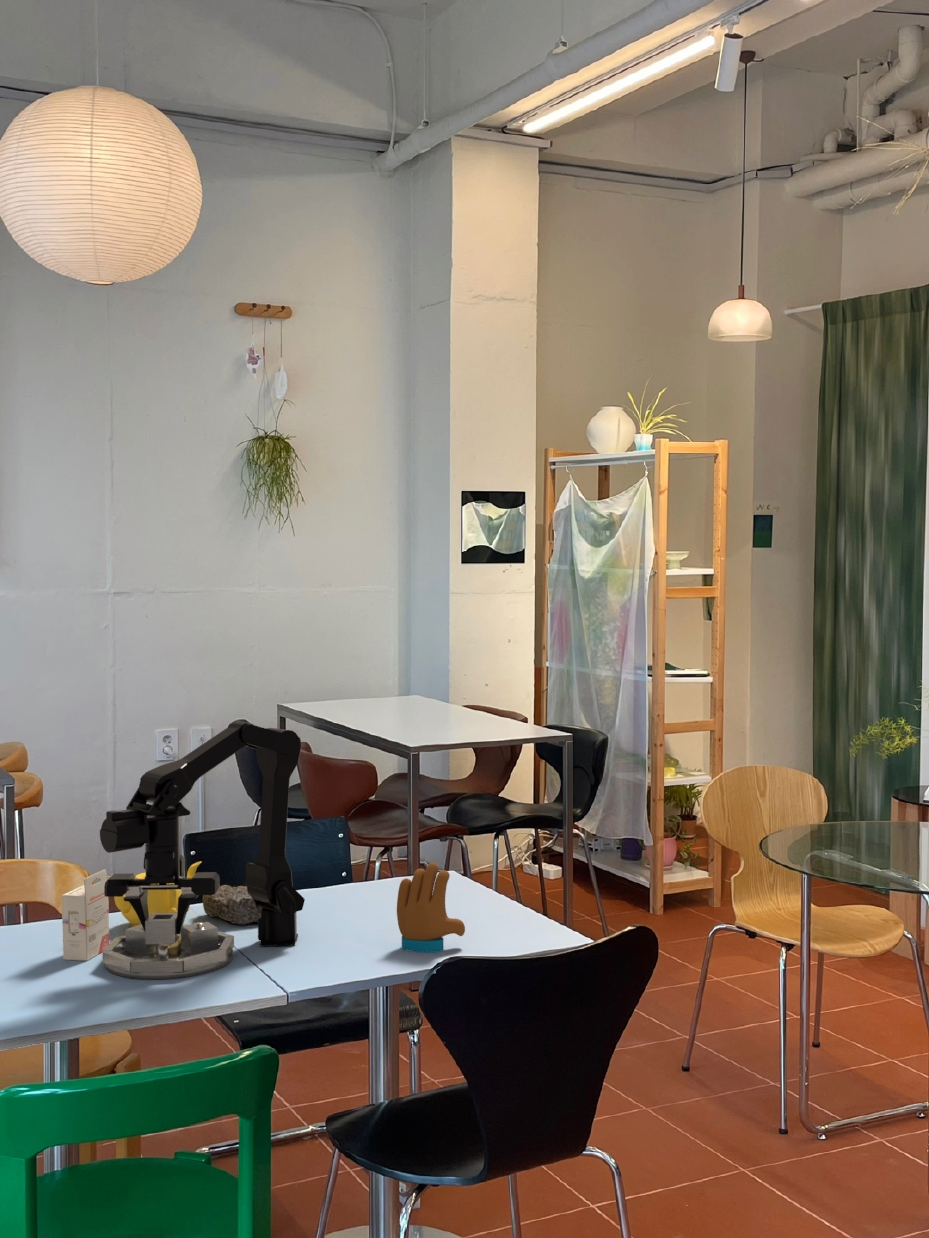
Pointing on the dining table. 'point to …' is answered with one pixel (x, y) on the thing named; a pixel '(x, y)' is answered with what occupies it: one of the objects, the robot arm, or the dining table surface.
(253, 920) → the rock
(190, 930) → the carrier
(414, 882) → the toy
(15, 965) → the dining table surface
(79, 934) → the ink cartridge box
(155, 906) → the teapot
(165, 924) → the square pipe segment
